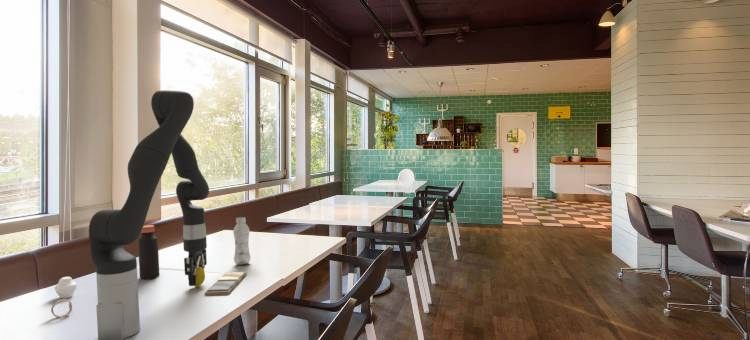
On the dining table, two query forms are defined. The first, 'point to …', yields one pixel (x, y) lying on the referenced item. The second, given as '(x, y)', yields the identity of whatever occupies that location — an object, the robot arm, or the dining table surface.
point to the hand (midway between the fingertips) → (196, 282)
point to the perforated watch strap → (66, 313)
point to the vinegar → (148, 253)
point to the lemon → (199, 276)
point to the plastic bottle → (241, 242)
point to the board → (226, 283)
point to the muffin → (65, 287)
